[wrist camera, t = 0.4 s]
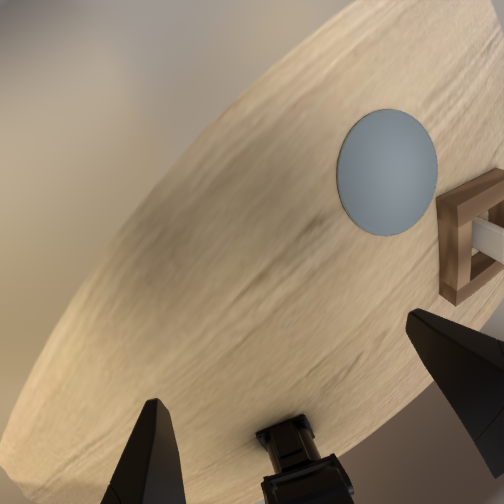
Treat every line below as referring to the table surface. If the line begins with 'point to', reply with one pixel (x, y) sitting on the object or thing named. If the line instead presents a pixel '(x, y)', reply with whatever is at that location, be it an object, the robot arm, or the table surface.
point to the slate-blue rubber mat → (387, 172)
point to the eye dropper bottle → (488, 238)
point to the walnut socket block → (467, 235)
